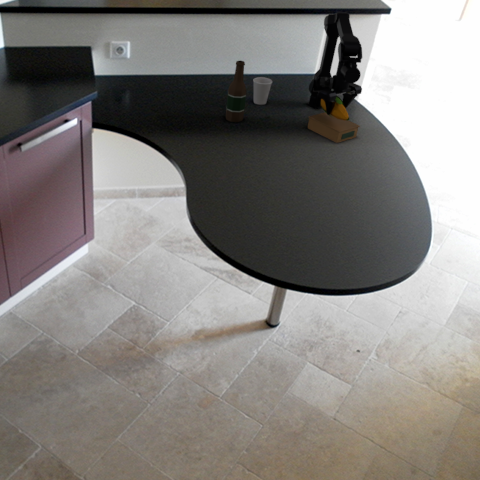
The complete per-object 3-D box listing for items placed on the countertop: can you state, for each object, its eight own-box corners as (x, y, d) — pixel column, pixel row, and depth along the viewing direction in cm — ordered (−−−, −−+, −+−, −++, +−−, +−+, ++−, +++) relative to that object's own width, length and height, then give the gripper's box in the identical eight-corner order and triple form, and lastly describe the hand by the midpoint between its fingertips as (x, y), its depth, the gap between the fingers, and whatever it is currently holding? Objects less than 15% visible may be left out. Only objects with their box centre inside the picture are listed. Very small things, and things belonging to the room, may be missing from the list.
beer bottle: (245, 117, 248) (253, 60, 234) (240, 124, 242) (247, 65, 228) (228, 113, 250) (234, 57, 237) (222, 120, 244) (228, 62, 231)
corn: (334, 88, 238) (359, 107, 222) (332, 105, 242) (355, 125, 226) (317, 90, 237) (340, 109, 221) (315, 108, 241) (337, 128, 225)
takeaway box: (306, 128, 241) (308, 116, 238) (326, 122, 246) (328, 111, 243) (336, 143, 229) (339, 131, 227) (357, 137, 235) (360, 125, 232)
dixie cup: (272, 101, 264) (275, 79, 258) (264, 107, 258) (267, 85, 252) (255, 97, 267) (258, 75, 261) (247, 102, 261) (250, 80, 256)
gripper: (344, 64, 234) (336, 101, 243) (311, 71, 225) (304, 110, 234) (366, 72, 226) (357, 111, 235) (332, 80, 218) (324, 120, 227)
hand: (335, 112), depth 233 cm, fingers closed on corn, 8 cm apart
